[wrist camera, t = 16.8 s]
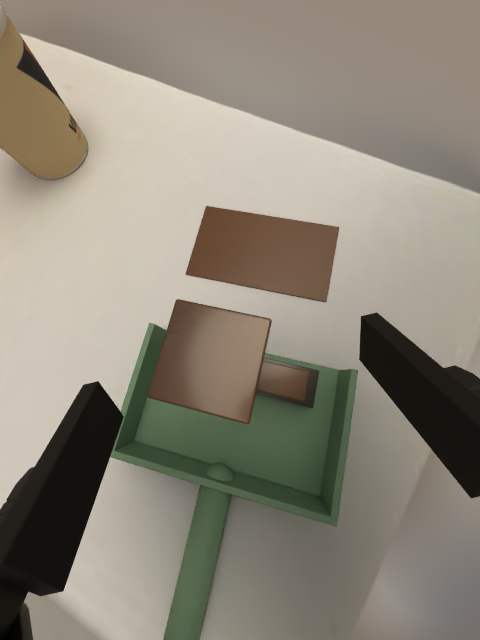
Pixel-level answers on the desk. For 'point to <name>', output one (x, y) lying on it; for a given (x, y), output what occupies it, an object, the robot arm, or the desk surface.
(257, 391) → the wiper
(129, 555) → the desk surface
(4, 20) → the coffee cup
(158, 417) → the dustpan
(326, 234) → the brown rectangular board
